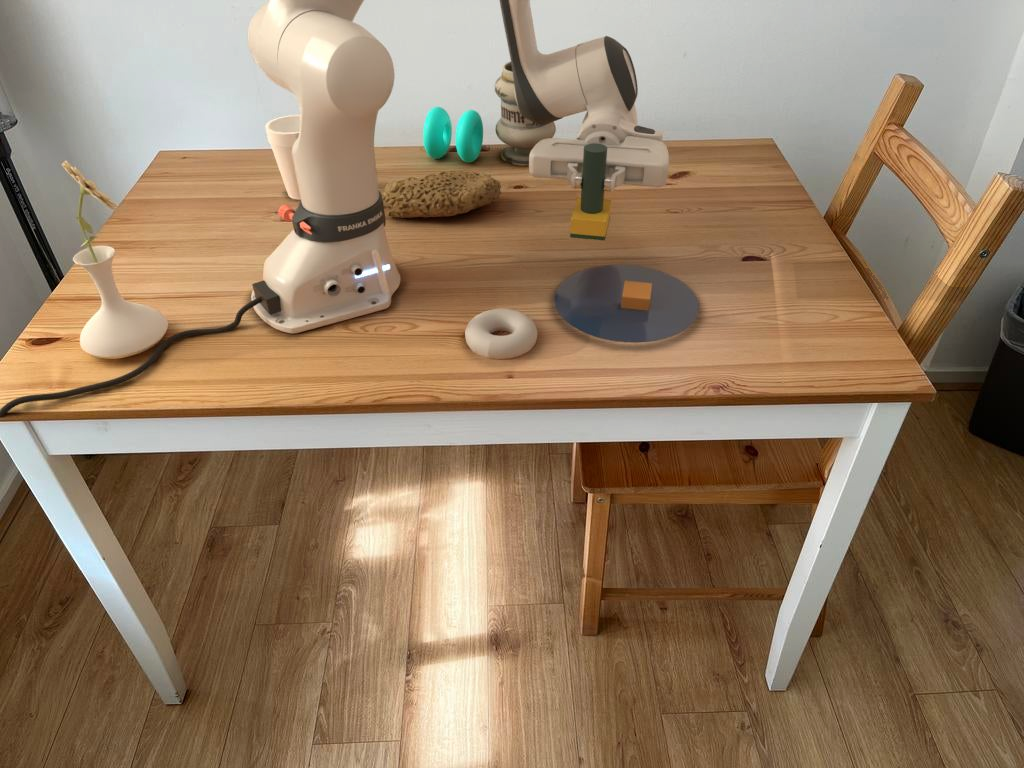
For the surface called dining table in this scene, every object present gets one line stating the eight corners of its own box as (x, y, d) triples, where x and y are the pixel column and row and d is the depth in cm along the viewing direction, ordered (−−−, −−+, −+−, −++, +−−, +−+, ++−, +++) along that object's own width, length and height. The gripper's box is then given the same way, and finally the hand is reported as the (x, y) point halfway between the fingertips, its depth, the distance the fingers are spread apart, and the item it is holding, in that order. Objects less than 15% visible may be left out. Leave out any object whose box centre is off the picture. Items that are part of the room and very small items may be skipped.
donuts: (470, 171, 152) (468, 120, 146) (423, 165, 154) (418, 116, 148) (485, 152, 159) (484, 103, 153) (440, 147, 161) (437, 99, 155)
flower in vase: (169, 358, 104) (107, 184, 89) (78, 373, 102) (-2, 198, 86) (173, 307, 114) (118, 143, 99) (91, 320, 112) (20, 154, 96)
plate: (624, 367, 102) (625, 361, 101) (525, 300, 115) (525, 295, 114) (727, 312, 112) (729, 306, 111) (625, 256, 125) (626, 251, 124)
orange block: (620, 308, 111) (622, 296, 110) (623, 292, 115) (624, 280, 113) (648, 311, 110) (650, 299, 109) (650, 294, 114) (652, 283, 113)
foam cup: (320, 178, 150) (308, 111, 142) (337, 195, 144) (326, 126, 136) (272, 189, 146) (258, 121, 138) (288, 207, 140) (273, 137, 132)
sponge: (385, 233, 134) (495, 216, 130) (373, 188, 131) (485, 169, 127) (405, 212, 146) (507, 196, 141) (395, 171, 142) (499, 153, 138)
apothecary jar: (484, 158, 156) (480, 67, 145) (519, 140, 164) (519, 52, 153) (531, 173, 151) (532, 79, 139) (566, 154, 158) (569, 62, 147)
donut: (537, 324, 110) (468, 322, 110) (538, 304, 108) (467, 302, 108) (537, 367, 102) (462, 365, 102) (538, 346, 100) (461, 344, 100)
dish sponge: (604, 240, 109) (611, 159, 101) (569, 237, 110) (573, 156, 102) (610, 218, 114) (616, 139, 107) (576, 215, 115) (580, 136, 107)
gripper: (537, 122, 117) (519, 157, 106) (673, 131, 114) (668, 169, 103) (536, 162, 121) (519, 199, 110) (667, 172, 118) (663, 212, 107)
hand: (592, 185), depth 107 cm, fingers closed on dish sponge, 3 cm apart
